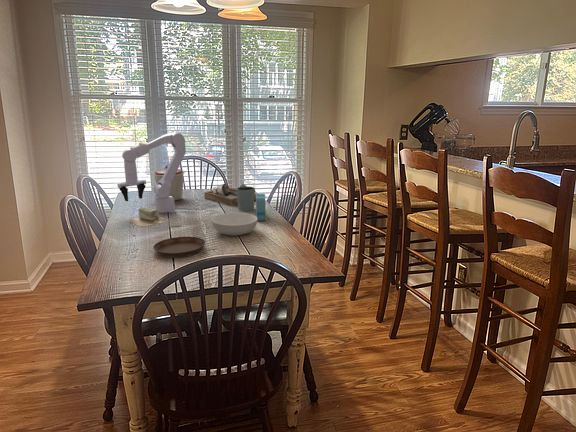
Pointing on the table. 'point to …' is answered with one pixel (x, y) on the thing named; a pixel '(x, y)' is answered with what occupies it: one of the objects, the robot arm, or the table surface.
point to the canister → (172, 183)
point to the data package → (260, 207)
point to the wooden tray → (223, 198)
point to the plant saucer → (179, 246)
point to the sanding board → (146, 223)
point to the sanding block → (148, 214)
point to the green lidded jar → (246, 198)
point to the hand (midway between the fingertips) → (133, 199)
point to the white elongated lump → (224, 190)
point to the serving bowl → (234, 223)
